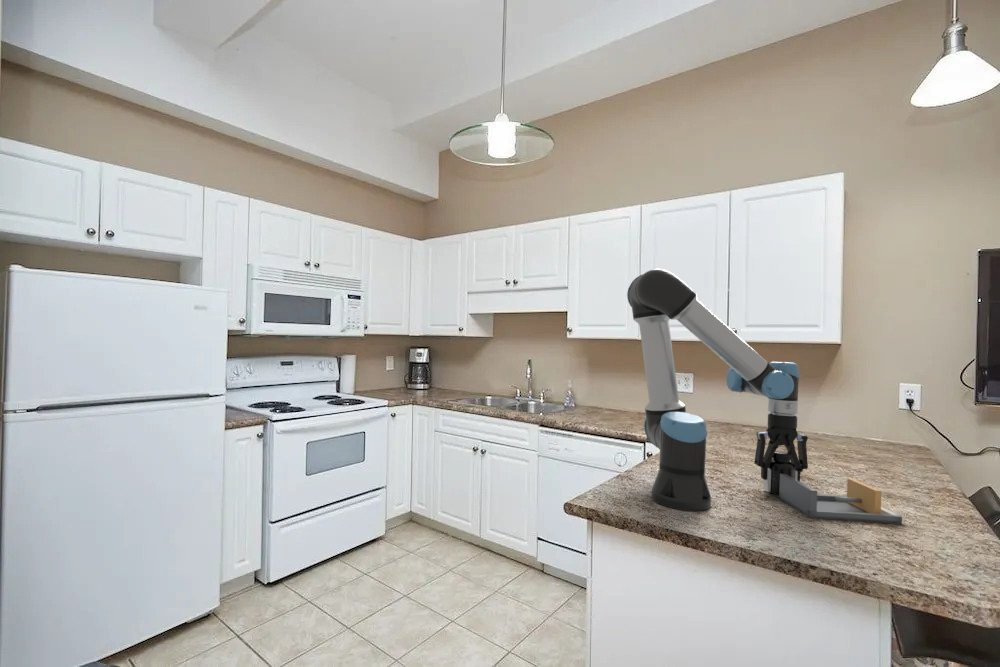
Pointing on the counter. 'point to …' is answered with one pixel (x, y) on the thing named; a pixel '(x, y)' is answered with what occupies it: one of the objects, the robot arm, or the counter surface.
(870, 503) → the pusher
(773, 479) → the supplement bottle
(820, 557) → the counter surface
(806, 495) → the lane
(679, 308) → the robot arm
